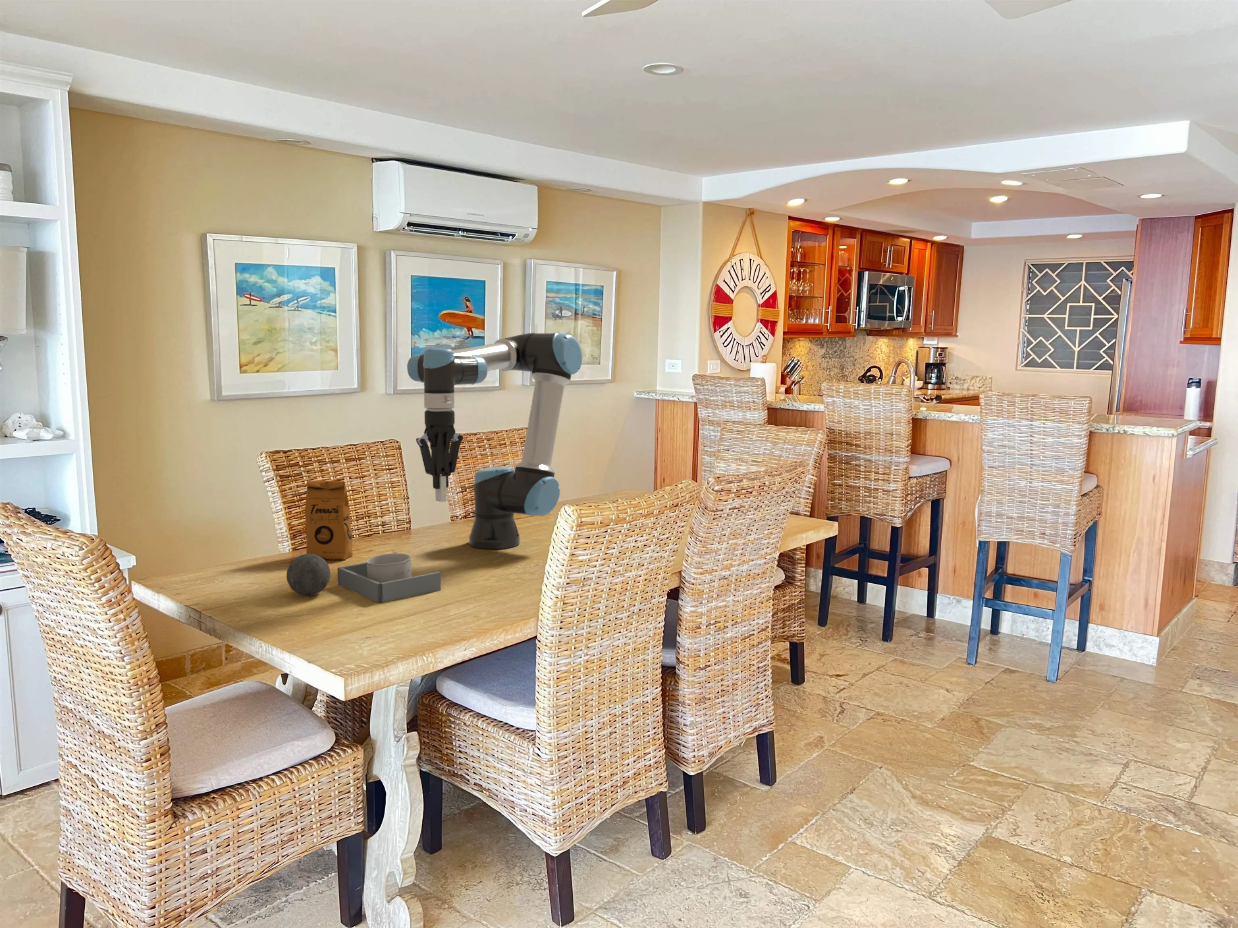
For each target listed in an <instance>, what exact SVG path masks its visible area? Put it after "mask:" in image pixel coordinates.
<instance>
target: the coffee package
mask: <svg viewBox="0 0 1238 928" xmlns="http://www.w3.org/2000/svg"><path fill="white" fill-rule="evenodd" d="M304 505H305V506H304V517H305V532H306V533H305V536H306V554H315V555H318V556H320V557H321V558H323V559H324V560H333V561H335V560H336V561H337V560H342V561H346V560H347V559H349V558H350V557H352V556H353V554H354V553H353V531H352V525H351V524H352V523H351V510H350V509H351V508H350V505H349V498H348V490H347V487H346V482H345V481H344V480H314V479H313V480H310V479H309V480H306V494H305V504H304Z"/></svg>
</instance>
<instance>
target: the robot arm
mask: <svg viewBox="0 0 1238 928" xmlns="http://www.w3.org/2000/svg"><path fill="white" fill-rule="evenodd" d="M582 354H583V352H582V349H581V345H580V343H579V342H578V340H577V338H575V337H574V336H573V335H571V334H568V333H560V332H556V333H551V332H550V333H536V332H529V333H528V332H527V333H522V334H518V335H514V336H508V337H505V338H499V339H497V340H496V341H494V342H493V343H489V344H484V345H479V346H477V345H476V346H472V347H470V346H469V347H467V348H466V347H465V348H460V349H452V348H447V347H446V348H442V347H441V348H440V347H439V348H426V349H425V350H424V352H423V353H420V354H419V353H416V354H413V355H412V356H410V358H409V359H408V362H407V364H406V365H407V366H406V367H407V369H406V370H407V374H408V376H409V378H410V379H411V380H412V381H415V382H420V383H423V388H424V390H423V391H424V393H423V399H424V400H423V406H424V409H426V410H425V411H424V425H425V429H424V431H423V434H422V436H421V437H417V438H416V439H415V442H416V443H417V445H418V447H419V451H420V455H421V458H422V461H423V463H422V464H423V467H424V472H425V473H426V474H427V475H430V476H432V488H433V489H435V490H434V491H435V493H434V494H435V501H436V502H440V503H443V502H447V489H448V488H449V477H451V475H452V473H455V472H456V468H457V463H458V458H459V452H460V446H461V444H462V442H463V440H464V436H463V435H461V434H459V433H457V432H456V429H455V427H454V425H455V424H456V422H455V419H456V418H455V416H456V415H455V411H454V408H455V386H456V385H457V386H458V385H459V386H460V385H462V386H463V385H475V384H480V383H483V382H484V381H485V379H486V378H487V375H488V372H489V371H490V372H491V371H496V370H499V371H502V372H507V371H508V372H509V371H519V372H520V371H521V372H530V373H531V377H532V378H533V379H534V382H535V383H534V388H533V389H534V390H533V393H532V394H533V395H532V400H531V405H530V412H529V417H528V423H527V429H526V433H525V434H526V435H525V440H524V444H523V445H524V446H523V451H522V457H521V461H519V463H518V464H515V468H514V467H513V466H501V467H499V466H498V467H489V468H482V469H479V470H477V471H476V472H475V474H474V484H473V486H474V487H473V489H474V490H473V491H474V494H473V495H474V521H473V524H472V527H471V531H470V534H469V536H468V539H469V540H468V542H469V543H468V544H469V546H470V547H473V548H477V549H483V550H499V549H509V548H510V549H511V548H514V547H517V546H518V545H520V543H521V541H520V540H521V539H520V538H521V536H520V533H519V530H518V527H517V523H516V521H515V514H519V515H520V514H521V515H525V516H526V515H527V516H530V517H535V516H536V517H538V516H539V517H544V516H547V515H549V514H550V513H551V512H552V511H554V509H555V507H556V506H557V504H558V502H559V499H560V495H561V494H560V493H561V488H560V483H559V481H558V479H556V478H555V474H556V472H555V470H554V469H553V468H552V461H553V454H554V449H555V448H554V447H555V442H556V437H557V430H558V424H559V418H560V413H561V407H562V406H561V405H562V401H563V396H564V395H563V394H564V389H565V387H566V385H569V383H571V379H572V378H571V377H572V375H575V374H577V373H578V372H579V371H580V369H581V367H582V362H583V355H582Z"/></svg>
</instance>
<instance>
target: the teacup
mask: <svg viewBox="0 0 1238 928" xmlns="http://www.w3.org/2000/svg"><path fill="white" fill-rule="evenodd" d="M411 559H412V557H411V555H410V554H406V553H399V552H397V551H395V552H392V553H384V554H383V553H382V554H378V555H373V556H371V557H369V558H367V559H366V560H365V563H366V564H367V574H368V578H369V579H372V580H374V581H377V582H379V583H384V582H389V581H394V580H399V579H404V578H409V577H412V560H411Z"/></svg>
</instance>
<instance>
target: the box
mask: <svg viewBox="0 0 1238 928" xmlns="http://www.w3.org/2000/svg"><path fill="white" fill-rule="evenodd" d="M441 575H442V573H441V572H440V571H435V572H430V573H426V574H421V575H415V576H411V577H409V578H404V579H399V580H394V581H389V582H384V583H379V582H377V581H374V580H372V579H369V578H368V574H367V564H366V562H362V563H355V564H352V565H351V564H349V565H345V566H340V567H339V566H338V567H337V586H340V587H342V588H343V589H347V590H349V591H350V592H354V593H355V594H358V595H360V596H362V597H364V598H365V597H366V598H367V599H370V600H372V601H374V602H377V603H379V604H381V603H386V602H390V601H395V600H401V599H405V598H410V597H414V596H420V595H423V594H429V593H433V592H439V591H441V587H442V586H441V584H442V583H441V581H442V579H441Z"/></svg>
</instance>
